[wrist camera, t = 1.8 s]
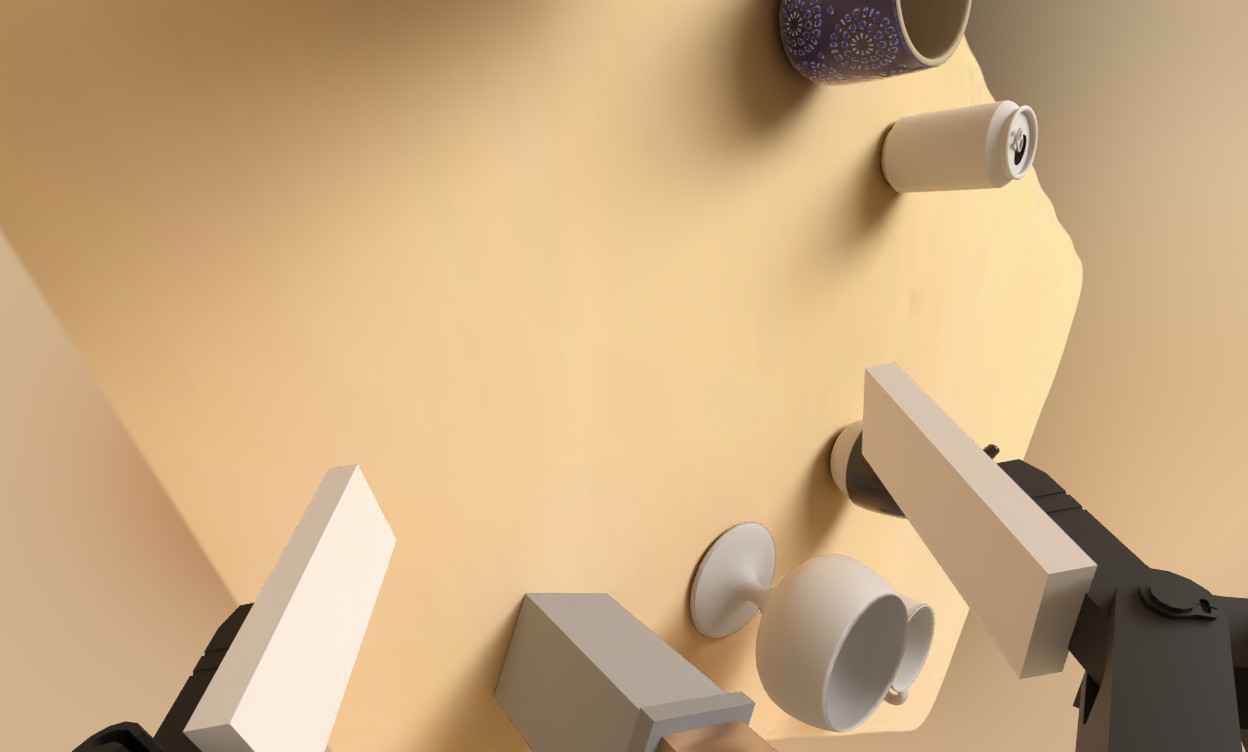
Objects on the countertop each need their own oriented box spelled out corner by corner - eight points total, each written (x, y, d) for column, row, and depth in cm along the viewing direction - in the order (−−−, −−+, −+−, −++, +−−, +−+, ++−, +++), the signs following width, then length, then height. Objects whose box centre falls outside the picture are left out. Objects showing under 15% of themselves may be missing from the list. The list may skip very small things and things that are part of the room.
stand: (485, 702, 44) (604, 879, 32) (521, 587, 44) (653, 721, 32) (581, 690, 50) (712, 837, 38) (613, 588, 50) (755, 702, 38)
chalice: (739, 485, 57) (885, 551, 46) (795, 550, 65) (931, 621, 54) (655, 611, 54) (791, 718, 42) (725, 664, 62) (855, 766, 50)
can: (899, 206, 64) (1023, 202, 55) (868, 168, 60) (997, 157, 50) (923, 144, 65) (1050, 130, 56) (894, 101, 60) (1027, 78, 51)
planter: (856, 48, 55) (985, 14, 47) (795, 121, 52) (920, 99, 43) (816, -77, 49) (955, -144, 40) (743, -3, 46) (877, -57, 37)
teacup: (840, 582, 73) (903, 616, 66) (886, 570, 79) (947, 599, 73) (817, 687, 74) (876, 730, 68) (864, 667, 81) (922, 703, 75)
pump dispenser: (881, 428, 71) (1023, 468, 59) (844, 507, 70) (983, 564, 58) (844, 391, 65) (995, 427, 53) (804, 476, 64) (949, 533, 52)
